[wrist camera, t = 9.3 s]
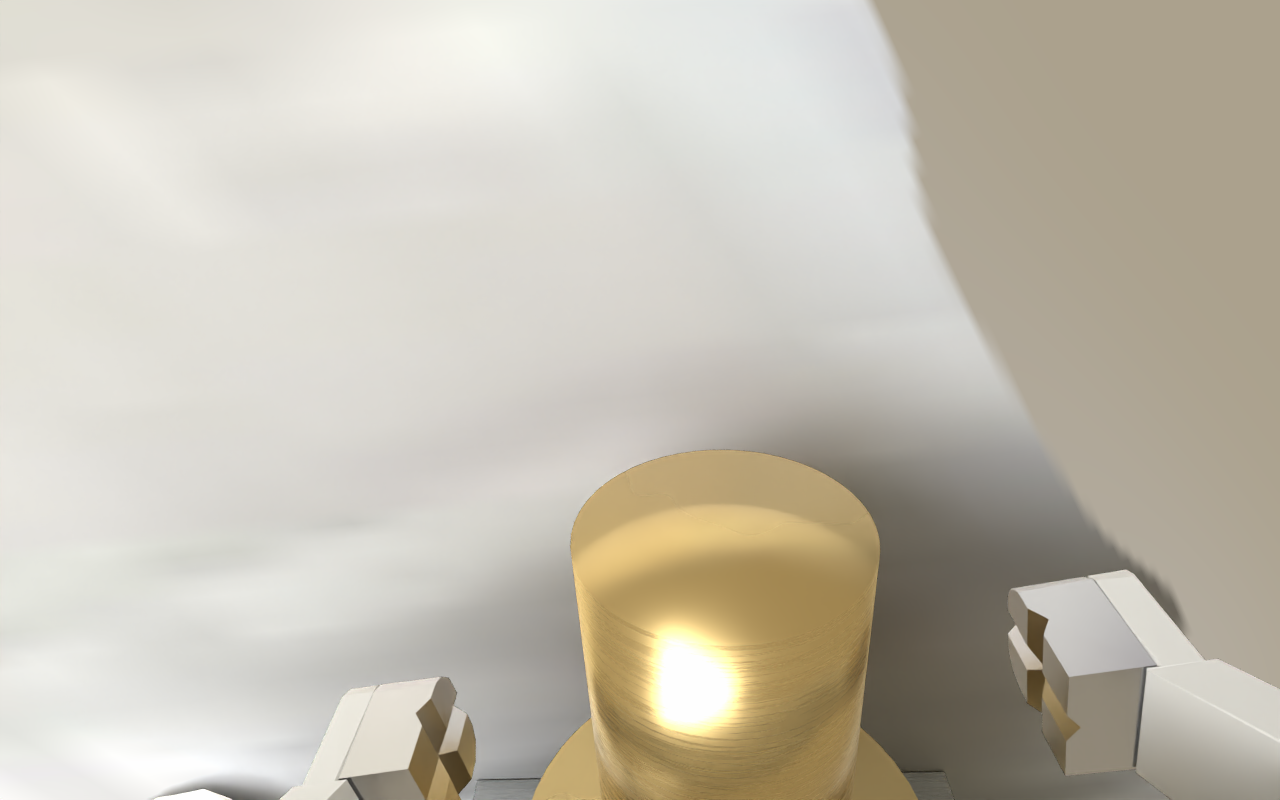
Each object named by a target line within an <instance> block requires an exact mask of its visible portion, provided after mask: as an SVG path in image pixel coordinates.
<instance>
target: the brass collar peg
mask: <svg viewBox="0 0 1280 800" xmlns="http://www.w3.org/2000/svg"><path fill="white" fill-rule="evenodd" d="M570 548H571V556H572V565H573V573H574V581H575V589H576V597H577V605H578V613H579V621H580V629H581V637H582V645H583V653H584V661H585V669H586V677H587V686H588V694H589V702H590V710H591V718H590V719H589V720H588V721H587V722H586V723H584V724H583V725H582V726H581V727H580V728H579V729H578V730H577V731H576V732H575V733H574V734H573V735H572V736H571V737H570V738H569V739H568V740H567V742H566V743H565V744H564V745H563V746H562V747H561V748H560V750H559V751H558V753H557V754H556V756H555V757H554V758H553V760H552V761H551V763H550V764H549V766H548V767H547V769H546V771H545V773H544V775H543V777H542V778H541V780H540V782H539V784H538V786H537V788H536V790H535V793H534V796H533V798H532V800H918V798H917V796H916V795H915V793H914V791H913V789H912V787H911V785H910V784H909V782H908V781H907V779H906V778H905V776H904V775H903V773H902V772H901V771H900V769H899V768H898V766H897V765H896V763H895V762H894V761H893V760H892V759H891V757H890V756H889V755H888V754H887V753H886V752H885V751H884V749H883V748H882V747H881V746H880V745H879V744H878V743H877V742H876V741H875V740H874V739H873V738H872V737H871V736H870V735H869V734H867V733H866V732H865V731H864V730H863V729H862V728H861V727H860V724H861V716H862V707H863V698H864V689H865V681H866V672H867V663H868V654H869V646H870V637H871V628H872V619H873V610H874V602H875V593H876V584H877V575H878V567H879V558H880V541H879V535H878V532H877V528H876V525H875V523H874V521H873V519H872V517H871V515H870V513H869V512H868V511H867V509H866V508H865V506H864V505H863V504H862V502H861V501H860V500H859V499H858V498H857V497H856V496H855V495H854V494H853V493H852V492H851V491H849V490H848V489H847V488H845V487H844V486H843V485H842V484H840V483H839V482H837V481H836V480H834V479H833V478H831V477H829V476H828V475H826V474H824V473H822V472H820V471H818V470H816V469H814V468H812V467H809V466H807V465H804V464H801V463H799V462H796V461H793V460H789V459H786V458H783V457H779V456H774V455H769V454H765V453H758V452H751V451H740V450H703V451H692V452H685V453H679V454H674V455H670V456H665V457H661V458H658V459H655V460H651V461H648V462H645V463H643V464H640V465H638V466H635V467H633V468H631V469H629V470H627V471H625V472H623V473H621V474H619V475H617V476H616V477H614V478H613V479H611V480H610V481H608V482H607V483H605V484H604V485H603V486H602V487H601V488H599V489H598V490H597V491H596V492H595V493H594V494H593V495H592V496H591V497H590V498H589V499H588V500H587V502H586V503H585V504H584V506H583V507H582V509H581V510H580V512H579V514H578V516H577V518H576V520H575V522H574V525H573V529H572V533H571V545H570Z"/></svg>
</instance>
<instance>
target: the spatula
mask: <svg viewBox="0 0 1280 800" xmlns="http://www.w3.org/2000/svg"><path fill="white" fill-rule="evenodd" d="M154 800H232V799H230V798H228V797H225V796H222V795H219V794H217V793H214V792H211V791H208V790H205V789H200V790H196V791H191V792H186V793H181V794H176V795H170V796H163V797H157V798H155V799H154Z"/></svg>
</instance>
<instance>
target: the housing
mask: <svg viewBox="0 0 1280 800" xmlns="http://www.w3.org/2000/svg"><path fill="white" fill-rule="evenodd" d="M903 775H904V776H905V778H906V779H907V781H908V782H909V784H910V785H911V787H912V789H913V791H914V793H915V795H916V796H917V798H918V800H955V799H954V797H953V794H952V791H951V788H950V786H949V783H948V780H947V777H946V775H945V772H914V773H903ZM540 780H541V779H529V780H477V785H476V789H475V794H474V798H473V800H532V798H533V796H534V793H535V790H536V788H537V786H538V784H539V782H540Z"/></svg>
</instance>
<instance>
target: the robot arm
mask: <svg viewBox="0 0 1280 800" xmlns="http://www.w3.org/2000/svg"><path fill="white" fill-rule="evenodd" d="M1008 612H1009V614H1010V615H1011V617H1012V619H1013V621H1014V623H1015V624H1016V625H1015V626H1014V627H1013V628H1012V629H1011V631H1010V632H1009V633H1008V648H1009V656H1010V660H1011V664H1012V669H1013V673H1014V675H1015V678H1016V680H1017V683H1018V686H1019V688H1020V690H1021V692H1022V694H1023V696H1024V698H1025V700H1026V702H1027V704H1029V705H1030V706H1032V707H1034V708H1035V709H1037V710H1038V711H1040V712H1041V713H1042V733H1043V735H1044V737H1045V739H1046V741H1047V742H1048V744H1049V746H1050V748H1051V750H1052V752H1053V754H1054V756H1055V758H1056V759H1057V761H1058V763H1059V765H1060V767H1061V769H1062V771H1063V773H1064V775H1065V776H1070V775H1081V774H1091V773H1101V772H1112V771H1122V770H1132V769H1136V773H1137V774H1138V775H1139V776H1141V777H1142V778H1143V779H1145V780H1146V781H1147V782H1149V783H1150V784H1151V785H1152V786H1154V787H1155V788H1156V789H1158V790H1159V791H1160V792H1162V793H1163V794H1164V795H1166V796H1167V797H1168V798H1170V799H1171V800H1280V689H1279V688H1277V687H1275V686H1273V685H1271V684H1269V683H1267V682H1265V681H1263V680H1261V679H1259V678H1257V677H1255V676H1252V675H1250V674H1248V673H1246V672H1244V671H1242V670H1240V669H1238V668H1236V667H1234V666H1232V665H1230V664H1228V663H1226V662H1224V661H1222V660H1220V659H1211V660H1205V659H1204V658H1203V656H1202V655H1201V654H1200V653H1199V652H1198V650H1197V649H1196V648H1195V647H1194V646H1193V644H1192V643H1191V642H1190V641H1189V640H1188V638H1187V637H1186V636H1185V635H1184V634H1183V632H1182V631H1181V630H1180V629H1179V628H1178V626H1177V625H1176V624H1175V623H1174V622H1173V620H1172V619H1171V618H1170V617H1169V615H1168V614H1167V613H1166V612H1165V611H1164V609H1163V608H1162V607H1161V606H1160V605H1159V603H1158V602H1157V601H1156V600H1155V599H1154V597H1153V596H1152V595H1151V594H1150V593H1149V591H1148V590H1147V589H1146V588H1145V587H1144V585H1143V584H1142V583H1141V582H1140V581H1139V579H1138V578H1137V577H1136V576H1135V575H1134V574H1133V573H1131V572H1130V571H1128V570H1120V571H1114V572H1108V573H1102V574H1096V575H1090V576H1087V577H1078V578H1072V579H1065V580H1059V581H1053V582H1047V583H1041V584H1035V585H1029V586H1023V587H1017V588H1011V589H1010V591H1009V594H1008ZM456 695H457V692H456V690H455V688H454V686H453V684H452V683H451V681H450V679H449V678H447V677H434V678H426V679H418V680H411V681H403V682H395V683H387V684H381V685H377V686H369V687H361V688H353V689H350V690H349V691H348V692H347V693H346V694H344V695H343V697H342V698H341V700H340V702H339V705H338V707H337V709H336V711H335V714H334V716H333V718H332V720H331V722H330V725H329V727H328V729H327V731H326V734H325V736H324V738H323V740H322V742H321V745H320V747H319V749H318V751H317V753H316V756H315V758H314V760H313V762H312V765H311V767H310V769H309V771H308V773H307V776H306V778H305V780H304V782H303V785H302V786H296V787H292V788H291V789H290V790H289V791H288V792H287V793H286V794H285V795H284V796H283V797H281V798H280V799H279V800H461V799H460V797H459V795H458V794H459V793H460V792H461V791H462V789H463V788H464V787H465V786H466V785H467V784H468V783H469V781H470V780H471V779H472V775H473V770H474V766H475V761H476V739H475V735H474V731H473V726H472V723H471V721H470V719H469V717H468V715H467V713H465V712H464V711H462V710H461V709H459V708H457V707H456V706H454V702H455V699H456Z"/></svg>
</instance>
